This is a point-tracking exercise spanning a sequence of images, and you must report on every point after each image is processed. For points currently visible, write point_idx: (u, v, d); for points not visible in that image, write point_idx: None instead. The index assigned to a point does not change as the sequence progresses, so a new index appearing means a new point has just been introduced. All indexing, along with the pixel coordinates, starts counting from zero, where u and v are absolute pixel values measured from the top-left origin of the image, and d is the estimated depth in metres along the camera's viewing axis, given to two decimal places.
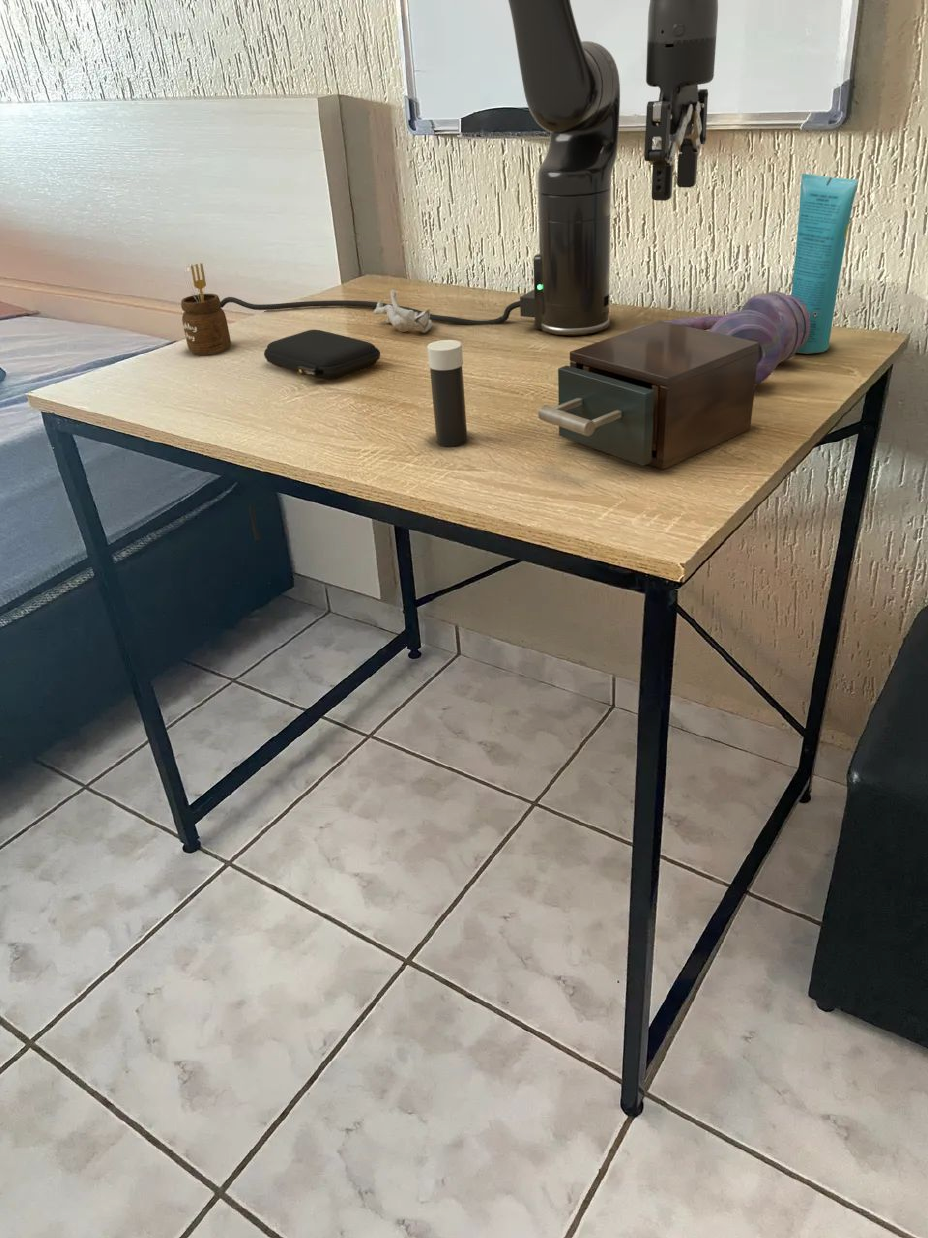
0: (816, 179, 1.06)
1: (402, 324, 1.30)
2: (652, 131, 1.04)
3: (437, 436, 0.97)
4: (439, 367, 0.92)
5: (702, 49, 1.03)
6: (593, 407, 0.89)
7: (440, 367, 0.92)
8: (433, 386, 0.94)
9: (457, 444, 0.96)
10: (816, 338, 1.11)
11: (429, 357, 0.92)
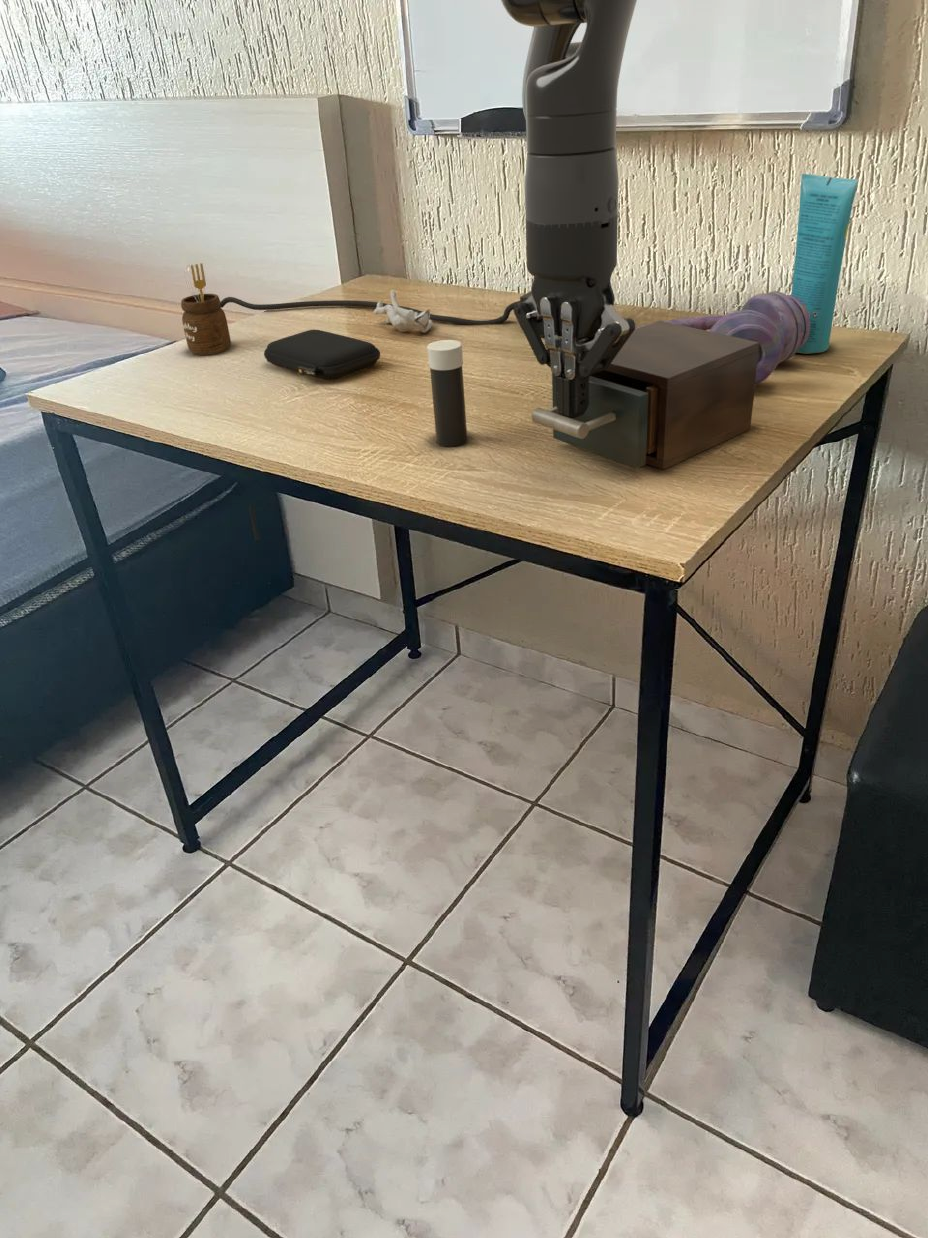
0: (816, 179, 1.06)
1: (402, 324, 1.30)
2: (607, 354, 0.79)
3: (437, 436, 0.97)
4: (439, 367, 0.92)
5: None
6: (587, 409, 0.89)
7: (440, 367, 0.92)
8: (433, 386, 0.94)
9: (457, 444, 0.96)
10: (816, 338, 1.11)
11: (429, 357, 0.92)
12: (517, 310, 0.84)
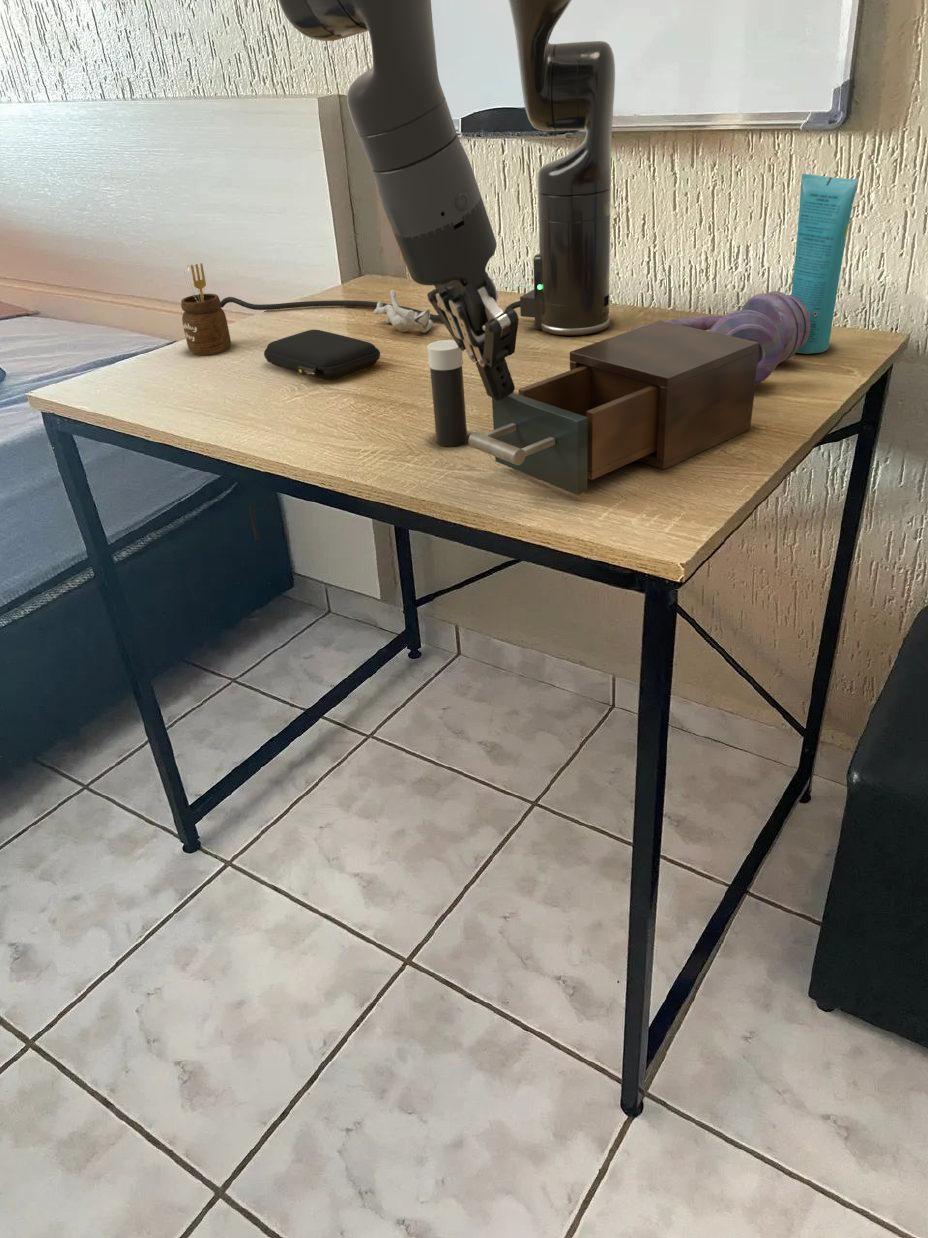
0: (816, 179, 1.06)
1: (402, 324, 1.30)
2: (501, 345, 0.78)
3: (437, 436, 0.97)
4: (439, 367, 0.92)
5: (483, 210, 0.74)
6: (527, 433, 0.85)
7: (440, 367, 0.92)
8: (433, 386, 0.94)
9: (457, 444, 0.96)
10: (816, 338, 1.11)
11: (429, 357, 0.92)
12: (429, 299, 0.84)
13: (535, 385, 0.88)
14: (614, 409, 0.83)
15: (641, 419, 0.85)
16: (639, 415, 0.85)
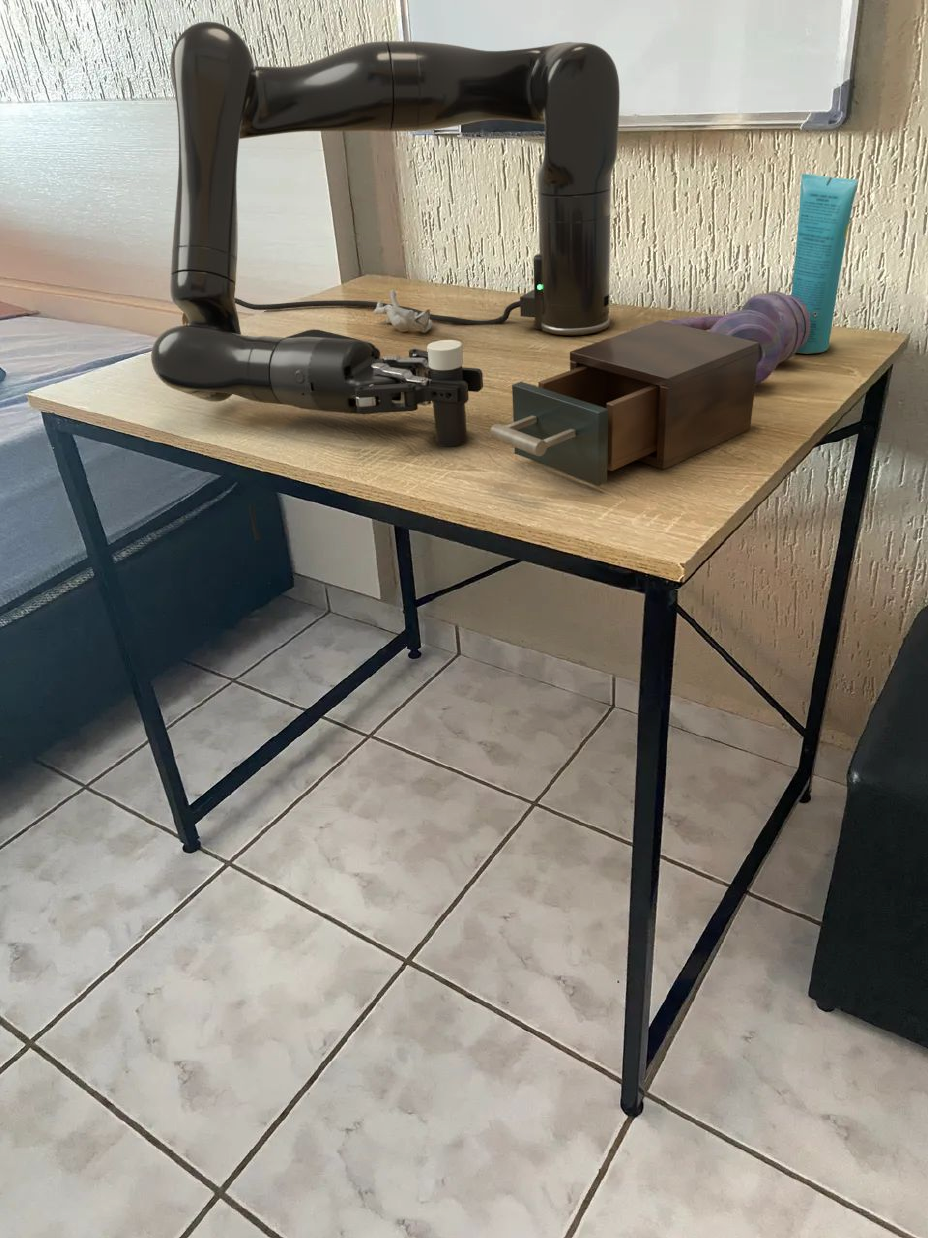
0: (816, 179, 1.06)
1: (402, 324, 1.30)
2: (386, 404, 0.92)
3: (437, 436, 0.97)
4: (439, 367, 0.92)
5: (322, 352, 0.96)
6: (548, 425, 0.86)
7: (440, 367, 0.92)
8: None
9: (457, 444, 0.96)
10: (816, 338, 1.11)
11: (429, 357, 0.92)
12: None
13: (554, 378, 0.89)
14: (634, 401, 0.84)
15: None
16: (657, 407, 0.86)
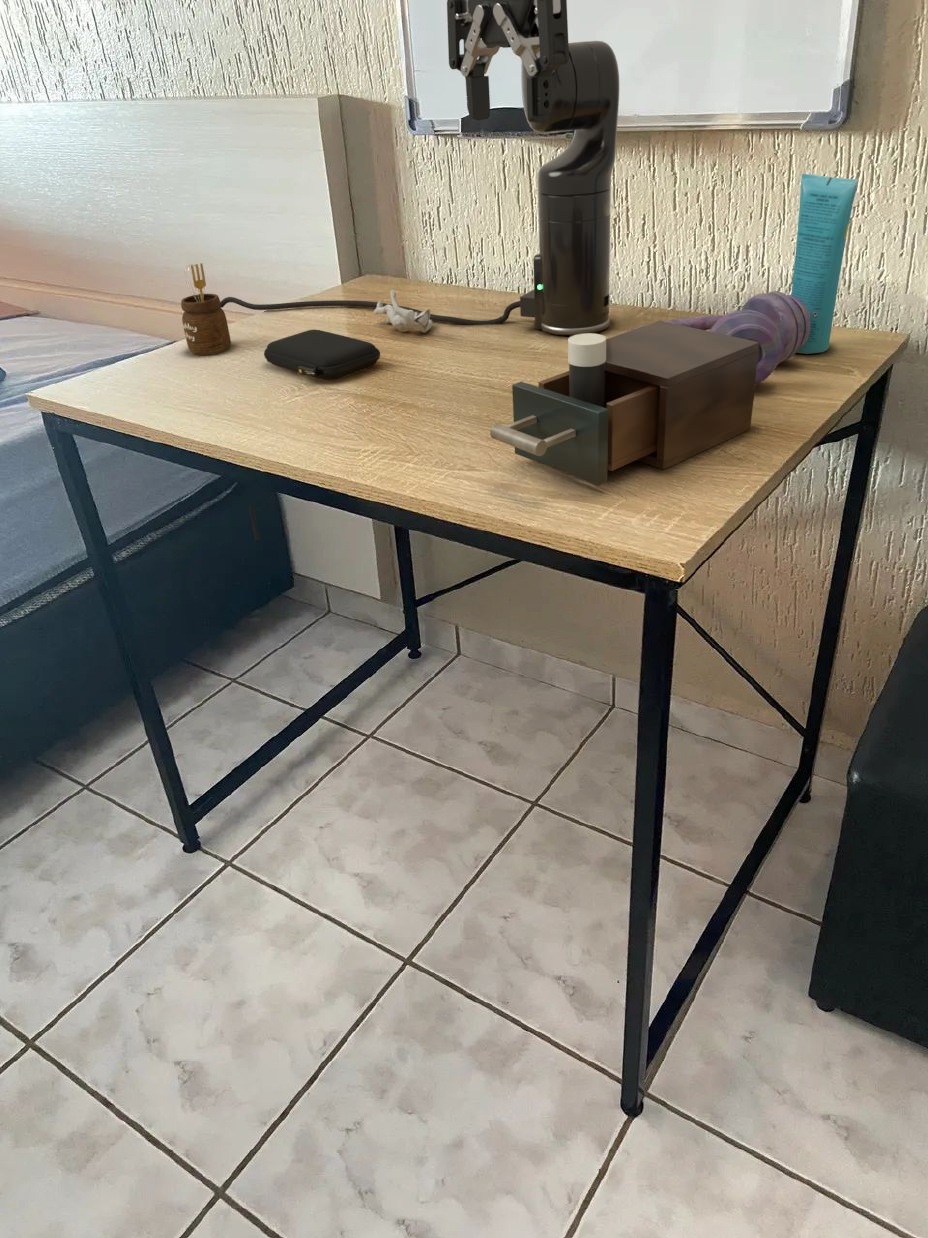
0: (816, 179, 1.06)
1: (402, 324, 1.30)
2: None
3: None
4: (582, 363, 0.83)
5: None
6: (548, 425, 0.86)
7: (583, 363, 0.83)
8: (572, 384, 0.85)
9: None
10: (816, 338, 1.11)
11: (570, 352, 0.84)
12: None
13: (554, 378, 0.89)
14: (634, 401, 0.84)
15: None
16: (657, 407, 0.86)
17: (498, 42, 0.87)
